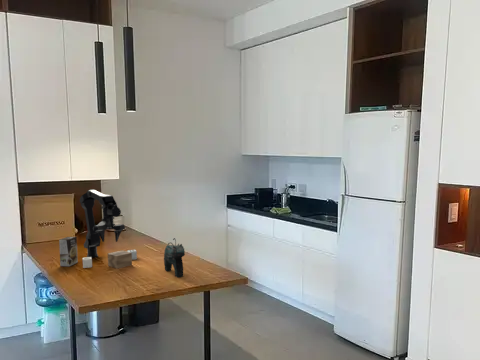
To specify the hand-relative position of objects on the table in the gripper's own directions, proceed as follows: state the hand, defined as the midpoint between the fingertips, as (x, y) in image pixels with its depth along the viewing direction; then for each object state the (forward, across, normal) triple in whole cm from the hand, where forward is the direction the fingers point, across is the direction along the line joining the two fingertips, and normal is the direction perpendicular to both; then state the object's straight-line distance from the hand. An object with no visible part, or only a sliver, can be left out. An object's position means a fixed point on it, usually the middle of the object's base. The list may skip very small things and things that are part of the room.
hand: (109, 241), depth 268 cm
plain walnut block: (+14, +8, -4) cm, 16 cm away
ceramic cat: (+16, +47, -13) cm, 51 cm away
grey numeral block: (+13, +7, +11) cm, 18 cm away
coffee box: (+12, -23, -9) cm, 28 cm away
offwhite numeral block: (+13, -9, -10) cm, 19 cm away
